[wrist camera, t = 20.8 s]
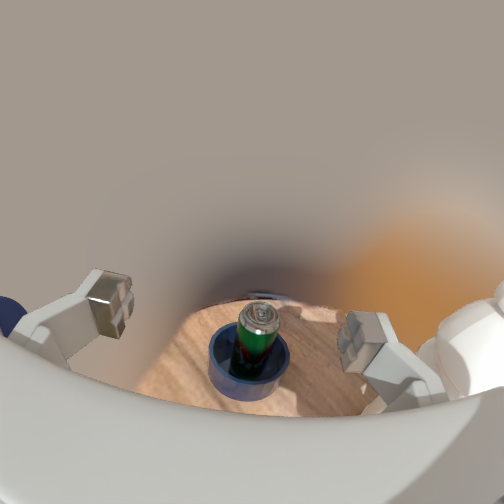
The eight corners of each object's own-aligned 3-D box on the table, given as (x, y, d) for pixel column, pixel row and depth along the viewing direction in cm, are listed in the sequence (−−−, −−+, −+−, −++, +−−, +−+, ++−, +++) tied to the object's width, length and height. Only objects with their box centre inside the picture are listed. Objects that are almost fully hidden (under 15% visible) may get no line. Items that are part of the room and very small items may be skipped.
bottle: (343, 476, 24) (517, 339, 9) (352, 397, 35) (455, 241, 21) (424, 476, 22) (577, 354, 7) (421, 406, 33) (527, 275, 19)
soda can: (262, 356, 40) (280, 301, 34) (263, 383, 36) (284, 330, 30) (229, 353, 40) (240, 296, 33) (228, 381, 35) (239, 326, 29)
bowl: (210, 403, 32) (212, 386, 29) (205, 342, 41) (206, 321, 39) (289, 397, 35) (299, 380, 32) (272, 340, 44) (278, 320, 41)
